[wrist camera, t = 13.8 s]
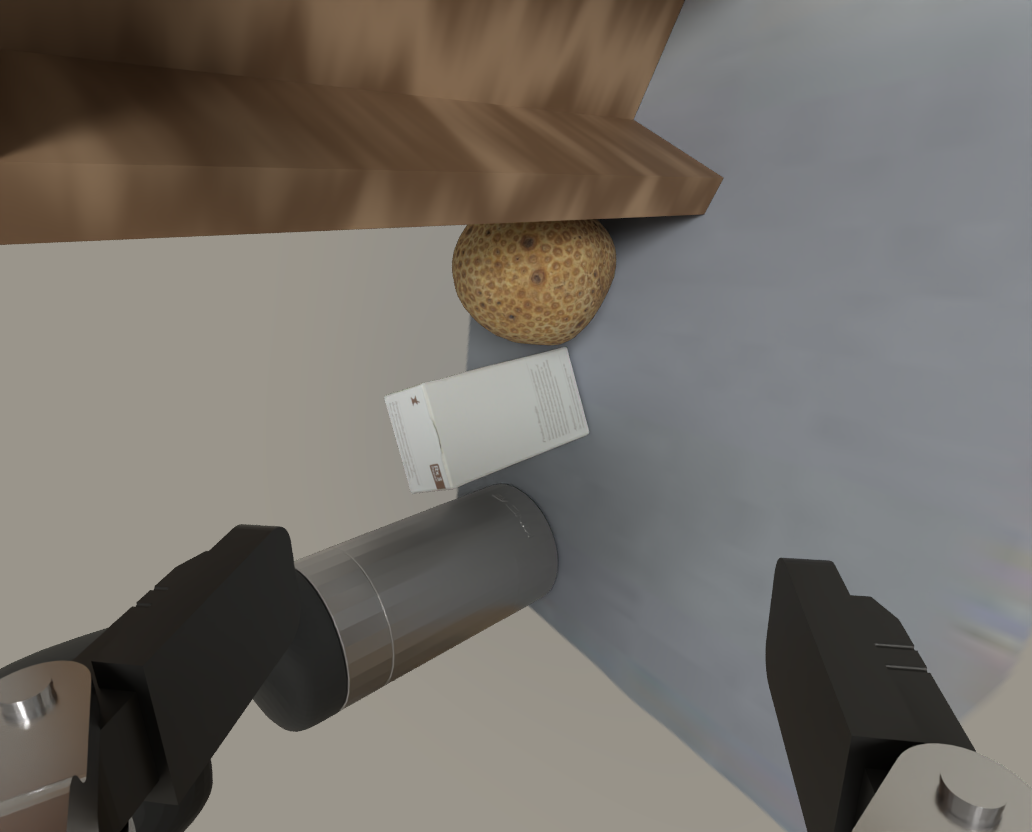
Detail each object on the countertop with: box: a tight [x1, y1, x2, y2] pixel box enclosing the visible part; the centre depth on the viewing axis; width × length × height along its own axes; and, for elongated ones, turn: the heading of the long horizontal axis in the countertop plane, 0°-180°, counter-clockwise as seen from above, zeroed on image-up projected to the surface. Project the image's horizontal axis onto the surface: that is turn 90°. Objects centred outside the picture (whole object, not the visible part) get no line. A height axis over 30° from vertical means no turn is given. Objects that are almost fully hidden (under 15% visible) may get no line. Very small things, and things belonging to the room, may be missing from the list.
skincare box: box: [384, 347, 589, 494], centre depth 42 cm, size 6×4×12 cm
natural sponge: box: [452, 219, 616, 345], centre depth 38 cm, size 9×9×10 cm
